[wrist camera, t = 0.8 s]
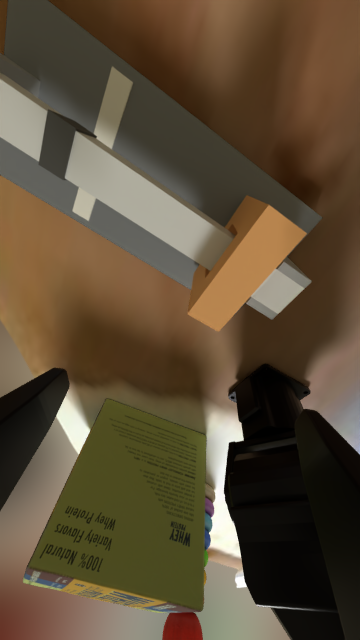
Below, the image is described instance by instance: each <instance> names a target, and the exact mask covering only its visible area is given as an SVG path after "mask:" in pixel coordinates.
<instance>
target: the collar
mask: <svg viewBox="0 0 360 640" xmlns="http://www.w3.org/2000/svg"><path fill="white" fill-rule="evenodd" d="M225 228H226V229H227V230H229V231H230V232H231V233H233V234H234V235H236V236H235V238H234V239H233V240H232V242H231V243H230V245H229V246H228V247H227V249H226V250H225V252H224V253H223V254H222V256H221V257H220V258H219V260H218V261H217V263H216V264H215V265H214V267H213V268H212V270H211V271H210V270H208V269H207V268H205V267H203V266H202V265H199V266H198V268H197V269H196V271H195V272H194V275H193V282H192V288H191V294H190V300H189V307H188V313H187V314H188V315H190V316H192V317H193V318H195V319H197V320H199V321H200V322H202V323H204V324H205V325H207V326H209V327H211V328H212V329H214V330H216V331H218V332H219V331H220V330H221V329H222V327H223V326H224V325H225V324H226V323H227V322H228V321H229V320H230V319H231V317H232V316H233V315H234V314H235V313H236V312H237V311H238V310H239V309H240V307H241V306H242V305H243V304H244V303H245V302H246V301H247V300H248V299H249V297H250V296H251V295H252V294H253V293H254V292H255V291H256V290H257V289H258V288H259V286H260V285H261V284H262V283H263V282H264V281H265V280H266V279H267V278H268V276H269V275H270V274H271V273H272V272H273V271H274V270H275V269H276V268H277V266H278V265H279V264H280V263H281V262H282V261H283V260H284V259H285V258H286V256H287V255H288V254H289V253H290V252H291V251H292V250H293V249H294V248H295V246H296V245H297V244H298V243H299V242H300V241H301V240H302V239H303V238H304V236H305V235H306V234H307V233H306V232H304V231H303V230H302V229H300V228H299V227H298V226H297V225H295V224H294V223H293V222H291V221H290V220H289V219H287V218H286V217H285V216H283V215H282V214H281V213H279V212H278V211H277V210H275V209H274V208H273V207H271V206H270V205H269V204H266V203H264V202H262V201H259V200H257V199H255V198H252V197H250V196H248V195H246V197H245V198H244V200H243V201H242V203H241V204H240V206H239V207H238V209H237V210H236V212H235V213H234V214H233V216H232V217H231V219H230V220H229V222H228V223H227V225H226V226H225Z"/></svg>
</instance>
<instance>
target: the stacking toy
mask: <svg viewBox="0 0 360 640" xmlns="http://www.w3.org/2000/svg"><path fill="white" fill-rule="evenodd" d="M214 501H215V492H214V490H213V489H212V488H211V487H210V486H209V485H208V484H206V489H205V551H204V567H205V566H206V565H207V562H208V554H207V551H206V549H208V547H209V546H210V542H211V539H210V535H209V532H210V531H211V529H212V520H211V517H212V516H213V514H214V506H213V502H214ZM205 583H206V573H205V570H204V585H205ZM162 640H203V637H202V629H201V625H200V623H199V620H198V617H197V616H196V614H195V613H193V612H180V613H170V614H169V615H168V617H167V620H166V622H165V625H164V630H163V639H162Z"/></svg>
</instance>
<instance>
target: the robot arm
mask: <svg viewBox="0 0 360 640" xmlns="http://www.w3.org/2000/svg"><path fill="white" fill-rule="evenodd" d="M68 389H69V379H68V375H67V371H66V370H65V369H62V368H52V369H51V370H49V371H47V372H45V373H43V374H42V375H40V376H38V377H36V378H34V379H33V380H31V381H29V382H27V383H26V384H24V385H22V386H20V387H19V388H17V389H15V390H13V391H11V392H10V393H8V394H6V395H4V396H2V397H1V398H0V510H1V509H2V507H3V506H4V504H5V502H6V501H7V499H8V497H9V495H10V494H11V492H12V490H13V489H14V487H15V485H16V484H17V482H18V480H19V479H20V477H21V476H22V474H23V472H24V471H25V469H26V467H27V465H28V464H29V462H30V461H31V459H32V457H33V455H34V454H35V452H36V450H37V449H38V447H39V446H40V444H41V442H42V440H43V439H44V437H45V436H46V434H47V432H48V430H49V429H50V427H51V425H52V423H53V421H54V419H55V417H56V415H57V413H58V410H59V408H60V406H61V404H62V402H63V400H64V398H65V396H66V394H67V391H68ZM309 394H310V389H309V388H308V387H307V386H305V385H303V384H301V383H300V382H298V381H296V380H294V379H293V378H291V377H289V376H287V375H286V374H284V373H282V372H280V371H279V370H277V369H275V368H273V367H272V366H270V365H268V364H264V365H262V366H261V367H260V368H258V369H257V370H256V371H255V372H254V373H252V374H251V375H250V376H249V377H248V378H246V379H245V380H244V381H243V382H242V383H241V384H239V385H238V386H237V387H236V388H235V389H233V390H232V391H231V392H230V393H229V394H228V397H229V399H230V400H232V401H234V402H236V403H237V410H238V418H239V422H241V423H242V430H243V438H244V441H240V442H235V441H234V442H230V443H229V448H228V456H227V465H226V475H225V485H224V494H225V501H226V504H227V507H228V510H229V514H230V516H231V519H232V521H233V523H234V525H235V528H236V532H237V536H238V541H239V546H240V552H241V558H242V565H243V572H244V579H245V583H246V585H247V587H248V589H249V591H250V594H251V596H252V598H253V600H254V602H255V604H256V605H257V606H258V607H270V608H271V609H272V611H273V612H274V614H275V615H276V617H277V619H278V620H279V622H280V623H281V625H282V627H283V628H284V630H285V631H286V633H287V635H288V636H289V637H290V639H291V640H360V455H359V453H358V452H357V451H356V450H355V449H354V448H353V447H352V446H351V445H350V444H349V443H348V442H347V441H346V440H345V439H344V438H343V437H342V436H341V435H340V434H339V433H338V432H337V431H336V430H335V429H334V428H333V427H332V426H331V425H330V424H329V423H328V422H327V421H326V420H325V419H324V418H323V417H322V416H321V415H320V414H319V413H318V412H317V411H315V410H310V409H303V407H302V404H301V402H300V400H301V399H303V398H304V397H306V396H307V395H309Z"/></svg>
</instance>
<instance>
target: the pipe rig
mask: <svg viewBox="0 0 360 640" xmlns="http://www.w3.org/2000/svg"><path fill="white" fill-rule="evenodd" d="M0 175H1V176H3V177H5V178H6V179H8V180H10V181H11V182H13V183H15V184H16V185H18V186H20V187H21V188H23V189H25V190H26V191H28V192H30V193H31V194H33V195H35V196H36V197H38V198H40V199H41V200H43V201H44V202H46V203H48V204H49V205H51V206H53V207H54V208H56V209H58V210H59V211H61V212H63V213H64V214H66V215H68V216H69V217H71V218H73V219H74V220H76V221H78V222H79V223H81V224H83V225H84V226H86V227H88V228H89V229H91V230H93V231H94V232H96V233H98V234H99V235H101V236H102V237H104V238H106V239H107V240H109V241H111V242H112V243H114V244H116V245H117V246H119V247H121V248H122V249H124V250H126V251H127V252H129V253H131V254H132V255H134V256H136V257H137V258H139V259H141V260H142V261H144V262H146V263H147V264H149V265H151V266H152V267H154V268H155V269H157V270H159V271H160V272H162V273H164V274H165V275H167V276H169V277H170V278H172V279H174V280H175V281H177V282H179V283H180V284H182V285H184V286H185V287H187V288H189V289H190V290H191V288H192V282H193V275H194V272H195V271H196V269H197V268H198V266H199V265H202V266H203V267H205V268H207V269H208V270H210V271H211V270H212V268H213V267H214V265H215V264H216V263H217V261H218V260H219V258H220V257H221V256H222V254H223V253H224V252H225V250H226V249H227V247H228V246H229V245H230V243H231V242H232V240H233V239H234V238H235V236H236V235H234V234H233V233H231V232H230V231H229V230H227V229H226V228H225V226H226V225H227V223H228V222H229V220H230V219H231V217H232V216H233V214H234V213H235V212H236V210H237V209H238V207H239V206H240V204H241V203H242V201H243V200H244V198H245V197H246V195H248V196H250V197H252V198H255V199H257V200H259V201H262V202H264V203H266V204H269V205H270V206H271V207H273V208H274V209H275V210H277V211H278V212H279V213H281V214H282V215H283V216H285V217H286V218H287V219H289V220H290V221H291V222H293V223H294V224H295V225H297V226H298V227H299V228H300V229H302V230H303V231H304V232H306V233H307V234H308V233H309V232H310V231H311V230H312V229H313V228H314V227H315V226H316V225H317V223H318V222H319V221H320V220H321V219H322V217H321V216H320V215H318V214H317V213H316V212H315V211H313V210H312V209H311V208H310V207H308V206H307V205H306V204H305V203H303V202H302V201H301V200H299V199H298V198H297V197H296V196H294V195H293V194H292V193H291V192H289V191H288V190H287V189H286V188H284V187H283V186H282V185H281V184H279V183H278V182H277V181H275V180H274V179H273V178H272V177H270V176H269V175H268V174H267V173H265V172H264V171H263V170H262V169H260V168H259V167H258V166H256V165H255V164H254V163H253V162H251V161H250V160H249V159H248V158H246V157H245V156H244V155H243V154H241V153H240V152H239V151H238V150H236V149H235V148H234V147H232V146H231V145H230V144H229V143H227V142H226V141H225V140H224V139H222V138H221V137H220V136H219V135H217V134H216V133H215V132H214V131H212V130H211V129H210V128H208V127H207V126H206V125H205V124H203V123H202V122H201V121H200V120H198V119H197V118H196V117H195V116H193V115H192V114H191V113H190V112H188V111H187V110H186V109H184V108H183V107H182V106H181V105H179V104H178V103H177V102H176V101H174V100H173V99H172V98H171V97H169V96H168V95H167V94H165V93H164V92H163V91H162V90H160V89H159V88H158V87H157V86H155V85H154V84H153V83H152V82H150V81H149V80H148V79H147V78H145V77H144V76H143V75H141V74H140V73H139V72H138V71H136V70H135V69H134V68H133V67H131V66H130V65H129V64H128V63H126V62H125V61H124V60H123V59H121V58H120V57H119V56H117V55H116V54H115V53H114V52H112V51H111V50H110V49H109V48H107V47H106V46H105V45H104V44H102V43H101V42H100V41H99V40H97V39H96V38H95V37H93V36H92V35H91V34H90V33H88V32H87V31H86V30H85V29H83V28H82V27H81V26H80V25H78V24H77V23H76V22H75V21H73V20H72V19H71V18H69V17H68V16H67V15H66V14H64V13H63V12H62V11H61V10H59V9H58V8H57V7H56V6H54V5H53V4H52V3H50V2H49V1H48V0H8V8H7V21H6V34H5V47H4V55H3V54H1V53H0ZM307 234H306V235H305V236H304V238H305V237H306V236H307ZM304 238H303V239H304ZM303 239H302V240H303ZM302 240H301V241H302ZM301 241H300V242H301ZM300 242H299V243H300ZM299 243H298V244H299ZM298 244H297V245H296V246H295V248H296V247H297V246H298ZM295 248H294V249H295ZM294 249H293V250H294ZM293 250H292V251H293ZM292 251H291V252H292ZM291 252H290V253H291ZM290 253H289V254H290ZM289 254H288V255H289ZM288 255H287V256H286V258H285V259H284V260H283V261H282V262H281V263H280V264H279V265H278V266H277V268H276V269H275V270H274V271H273V272H272V273H271V274H270V275H269V276H268V278H267V279H266V280H265V281H264V282H263V283H262V284H261V285H260V286H259V288H258V289H257V290H256V291H255V292H254V293H253V294H252V295H251V296H250V297H249V299H248V300H247V301H246V302H245V303H246V304H248V305H249V306H251V307H252V308H254V309H256V310H257V311H259V312H260V313H262V314H264V315H265V316H267V317H268V318H270V319H273V318H274V317H275V316H276V315H277V314H279V313H280V312H281V311H282V310H283V309H284V308H285V307H286V306H287V305H288V304H289V303H290V302H291V301H292V300H293V299H294V298H295V297H296V296H297V295H298V294H299V293H300V292H302V291H303V290H304V289H305V288H306V287H307V286H308V285H309V284H310V283H311V282H312V281H311V280H310V279H309V278H308V277H307V276H306V275H305V274H304V273H303V272H302V271H301V270H300V269H299V268H298V267H297V266H296V265H295V264H294V263H293V262H292V261H291V260H290V259H289V258H288ZM245 303H244V304H245ZM244 304H243V305H244ZM243 305H242V306H243ZM242 306H241V307H242ZM241 307H240V309H241ZM240 309H239V310H240ZM239 310H238V311H239ZM238 311H237V312H238ZM237 312H236V313H237ZM236 313H235V314H236ZM235 314H234V315H235ZM234 315H233V316H234Z"/></svg>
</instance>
